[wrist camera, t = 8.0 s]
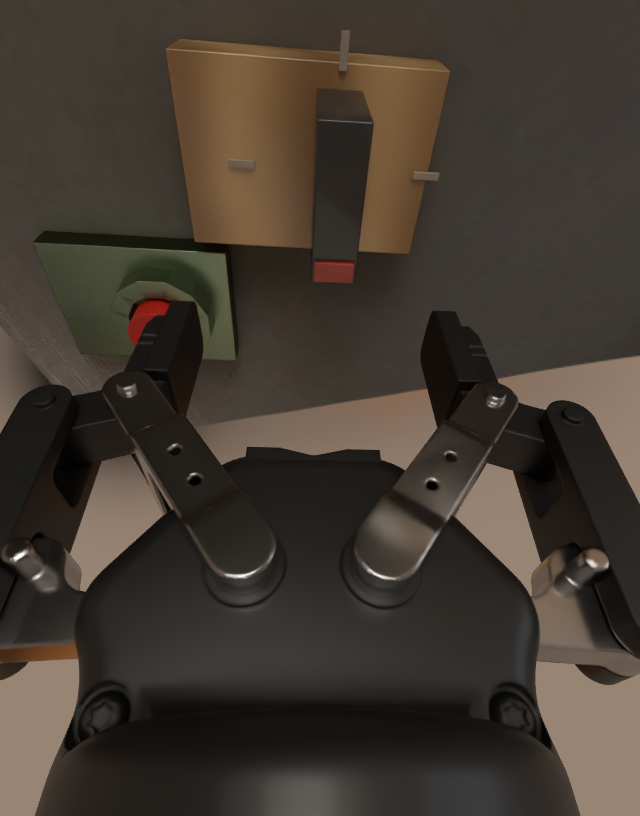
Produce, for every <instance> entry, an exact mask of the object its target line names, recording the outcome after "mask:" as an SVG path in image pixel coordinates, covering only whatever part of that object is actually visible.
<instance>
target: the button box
mask: <svg viewBox="0 0 640 816" xmlns="http://www.w3.org/2000/svg"><path fill="white" fill-rule="evenodd" d="M33 245H34V247H35V249H36V252H37V254H38V256H39V259H40V261H41V263H42V265H43V268H44V270H45V272H46V275H47V277H48V279H49V282H50V284H51V286H52V289H53V291H54V293H55V295H56V298H57V300H58V302H59V305H60V307H61V309H62V312H63V314H64V316H65V319H66V321H67V323H68V326H69V328H70V330H71V332H72V335H73V337H74V339H75V342H76V344H77V346H78V349H79V351H80V353H81V354H96V355H119V356H131V355H132V353H133V351H134V349H135V347H136V346H135V345H134V344H133V343H132V342H131V340H130V338H129V335H128V326H129V323H130V321H131V319H132V317H133V315H134V313H135V311H136V309H137V307H138V306H139V305H140V304H142V303H143V302H145V301H148V300H164V301H167V302H170V303H171V301H172V300H173V301H195V303H196V305H197V309H198V315H199V320H200V325H201V331H202V336H203V356H202V359H212V360H236V359H237V353H238V348H239V345H238V334H237V323H236V312H235V301H234V290H233V279H232V268H231V258H230V247H229V244H221V243H204V242H195V241H194V240H193V239H176V238H158V237H141V236H123V235H106V234H88V233H71V232H54V231H43V233H42V234H41V235H40V236H39V237H38V238H37V239H36V240H35V241H34V242H33Z"/></svg>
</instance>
